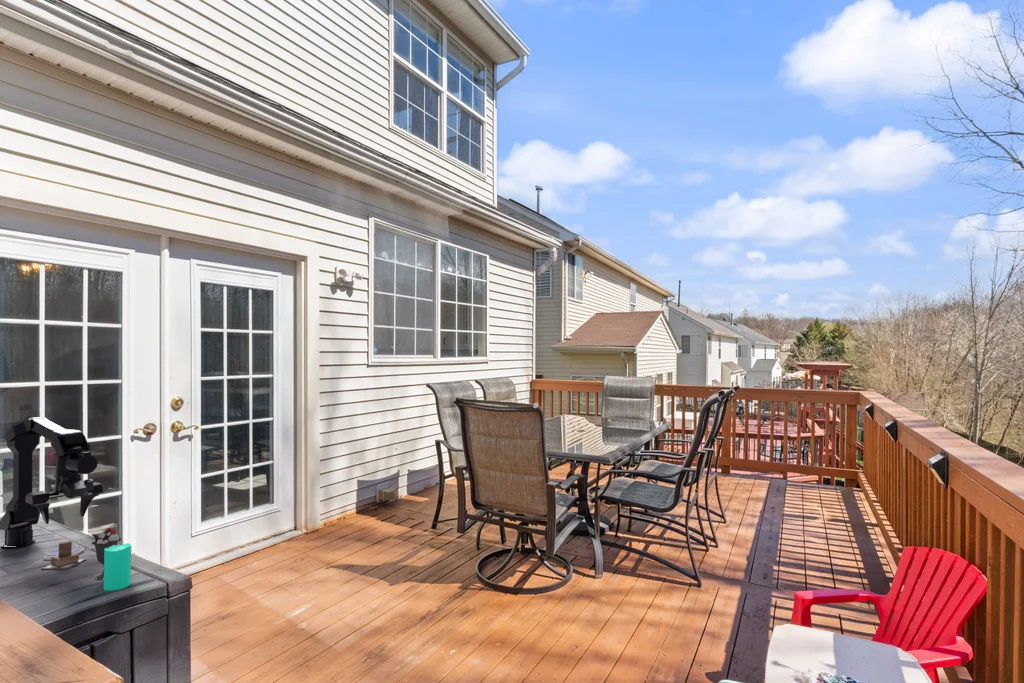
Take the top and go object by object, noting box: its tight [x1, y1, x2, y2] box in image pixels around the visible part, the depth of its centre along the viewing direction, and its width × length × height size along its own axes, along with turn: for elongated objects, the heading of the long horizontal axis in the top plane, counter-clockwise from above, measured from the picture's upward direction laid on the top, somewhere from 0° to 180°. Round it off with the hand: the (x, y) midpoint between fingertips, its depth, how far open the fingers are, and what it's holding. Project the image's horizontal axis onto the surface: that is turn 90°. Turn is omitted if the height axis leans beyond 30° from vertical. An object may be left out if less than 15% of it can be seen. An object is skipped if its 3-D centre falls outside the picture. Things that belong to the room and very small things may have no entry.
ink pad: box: [43, 547, 85, 561], centre depth 169 cm, size 7×7×1 cm
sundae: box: [91, 521, 122, 579], centre depth 152 cm, size 7×7×15 cm
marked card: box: [40, 558, 87, 570], centre depth 161 cm, size 8×8×1 cm
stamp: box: [50, 540, 80, 568], centre depth 161 cm, size 5×5×6 cm
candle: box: [103, 541, 132, 592], centre depth 145 cm, size 6×6×12 cm
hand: (65, 520), depth 170 cm, fingers open, 9 cm apart
